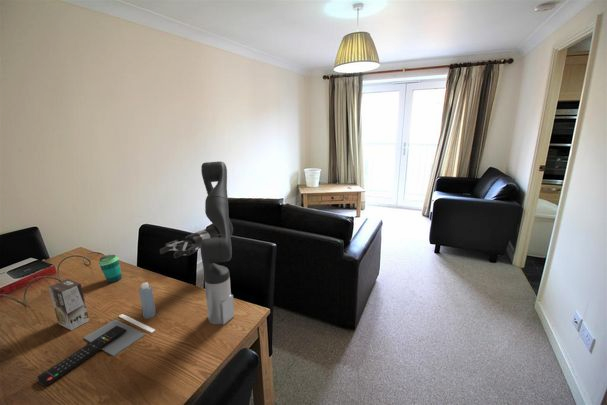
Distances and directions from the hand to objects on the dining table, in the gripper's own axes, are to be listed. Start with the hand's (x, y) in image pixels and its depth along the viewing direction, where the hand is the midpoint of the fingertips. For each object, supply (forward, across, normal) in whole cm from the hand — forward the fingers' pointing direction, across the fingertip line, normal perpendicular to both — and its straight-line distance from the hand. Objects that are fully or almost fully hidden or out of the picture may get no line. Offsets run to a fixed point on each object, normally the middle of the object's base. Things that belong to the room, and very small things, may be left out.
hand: (167, 253), depth 115 cm
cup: (+2, -41, +22) cm, 47 cm away
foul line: (+17, 0, +22) cm, 27 cm away
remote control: (+34, 0, +22) cm, 40 cm away
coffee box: (+27, -22, +22) cm, 41 cm away
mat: (+25, 0, +22) cm, 33 cm away
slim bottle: (+11, 0, +22) cm, 25 cm away
